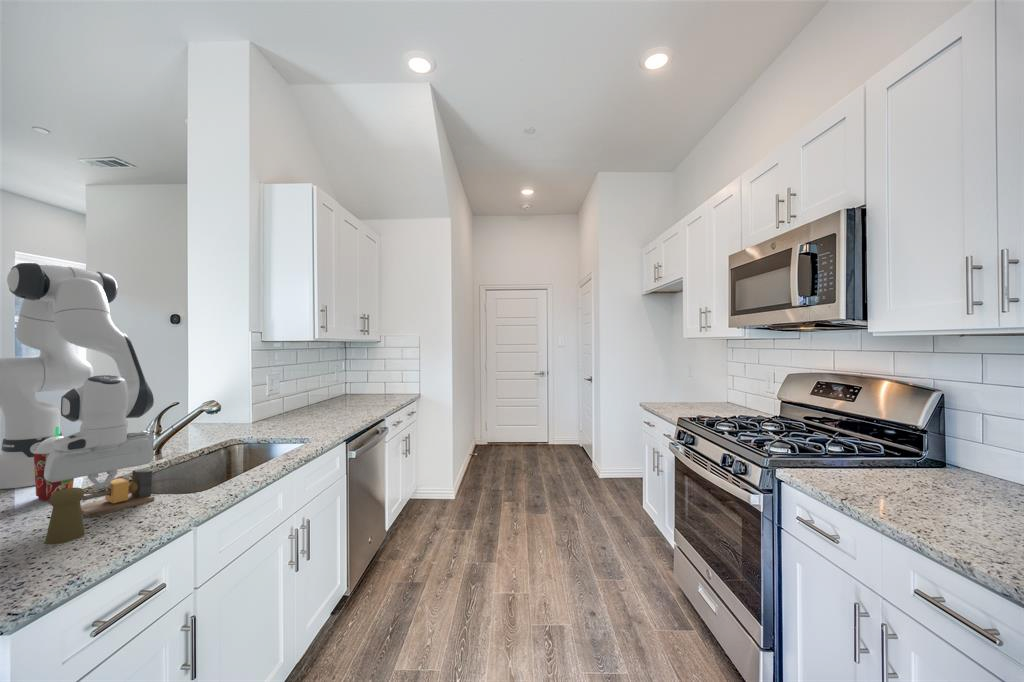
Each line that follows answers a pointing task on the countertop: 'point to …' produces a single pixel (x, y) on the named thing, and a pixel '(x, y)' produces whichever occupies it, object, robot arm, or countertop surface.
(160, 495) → the countertop surface
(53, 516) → the cork
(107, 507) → the sliding block toy
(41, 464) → the smoothie
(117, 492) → the sleeve
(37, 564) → the countertop surface
